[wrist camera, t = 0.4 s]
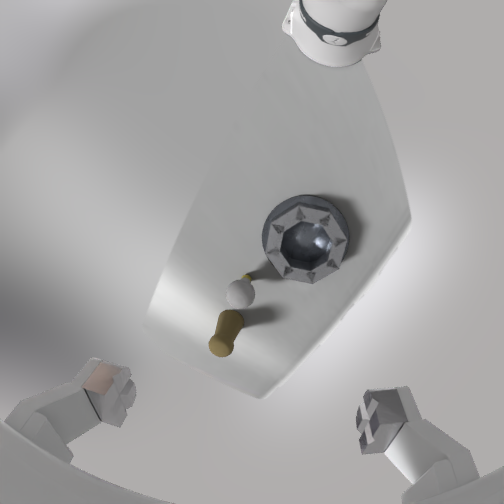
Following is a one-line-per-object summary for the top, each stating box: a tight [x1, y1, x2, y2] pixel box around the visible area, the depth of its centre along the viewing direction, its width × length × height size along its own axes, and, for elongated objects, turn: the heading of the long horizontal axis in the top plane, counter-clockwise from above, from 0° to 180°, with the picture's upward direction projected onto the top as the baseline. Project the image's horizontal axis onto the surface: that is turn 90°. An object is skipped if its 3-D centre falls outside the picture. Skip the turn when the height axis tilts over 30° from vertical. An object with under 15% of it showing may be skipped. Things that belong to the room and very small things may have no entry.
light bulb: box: [226, 275, 255, 309], centre depth 55 cm, size 5×6×10 cm
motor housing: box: [262, 195, 349, 284], centre depth 53 cm, size 17×17×5 cm
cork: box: [209, 310, 244, 357], centre depth 60 cm, size 6×6×11 cm
